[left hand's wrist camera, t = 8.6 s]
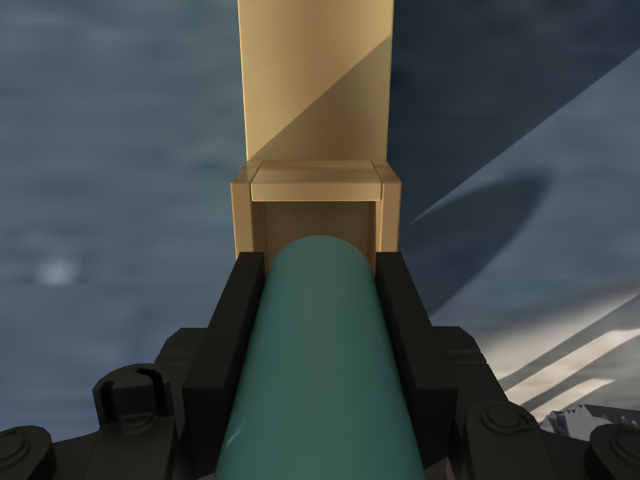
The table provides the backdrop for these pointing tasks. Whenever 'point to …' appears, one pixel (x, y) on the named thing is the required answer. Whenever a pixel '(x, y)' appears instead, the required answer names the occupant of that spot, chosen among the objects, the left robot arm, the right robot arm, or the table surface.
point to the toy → (588, 420)
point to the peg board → (316, 126)
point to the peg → (319, 377)
